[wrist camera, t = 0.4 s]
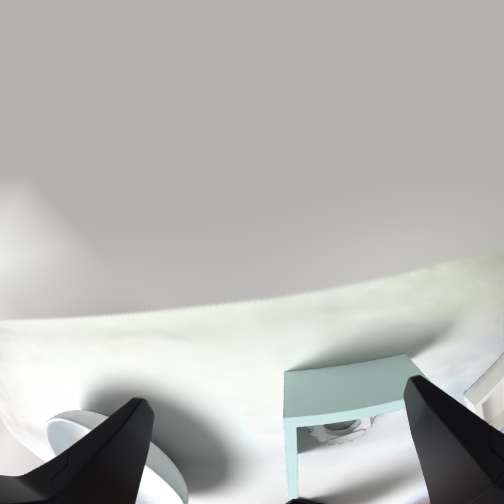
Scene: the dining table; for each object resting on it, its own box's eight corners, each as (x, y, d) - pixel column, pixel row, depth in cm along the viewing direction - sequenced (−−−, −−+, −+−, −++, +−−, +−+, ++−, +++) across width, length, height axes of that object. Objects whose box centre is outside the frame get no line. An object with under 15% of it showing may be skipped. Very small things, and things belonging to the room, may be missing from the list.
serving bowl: (50, 392, 28) (22, 412, 21) (152, 387, 25) (122, 422, 19) (117, 485, 29) (101, 509, 22) (224, 495, 26) (215, 530, 19)
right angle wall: (289, 451, 25) (288, 498, 18) (284, 368, 24) (283, 417, 17) (389, 435, 24) (407, 477, 16) (403, 351, 23) (436, 389, 15)
